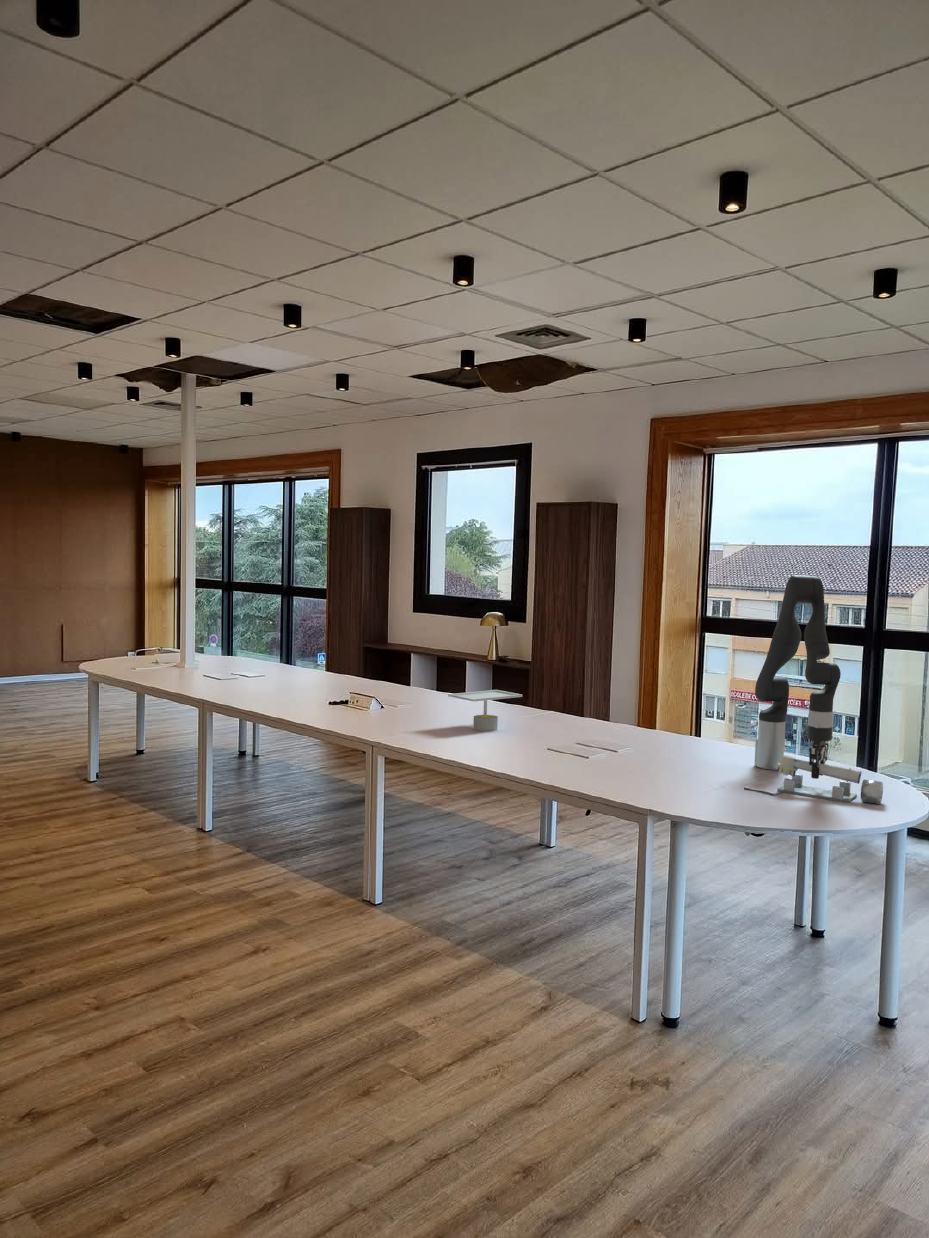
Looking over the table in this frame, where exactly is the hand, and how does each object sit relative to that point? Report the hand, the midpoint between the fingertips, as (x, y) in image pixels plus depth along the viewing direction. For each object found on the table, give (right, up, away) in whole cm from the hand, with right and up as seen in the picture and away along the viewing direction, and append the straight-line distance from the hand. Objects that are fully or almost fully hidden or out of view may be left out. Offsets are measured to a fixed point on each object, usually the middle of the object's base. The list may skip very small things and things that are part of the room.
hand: (817, 776), depth 296 cm
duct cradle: (+3, -6, -2) cm, 7 cm away
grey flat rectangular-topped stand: (-105, +3, +99) cm, 145 cm away
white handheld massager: (0, -1, 0) cm, 1 cm away
